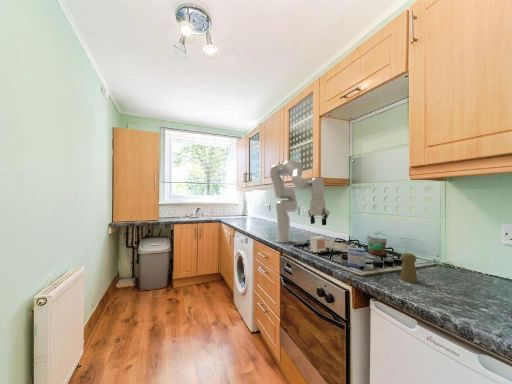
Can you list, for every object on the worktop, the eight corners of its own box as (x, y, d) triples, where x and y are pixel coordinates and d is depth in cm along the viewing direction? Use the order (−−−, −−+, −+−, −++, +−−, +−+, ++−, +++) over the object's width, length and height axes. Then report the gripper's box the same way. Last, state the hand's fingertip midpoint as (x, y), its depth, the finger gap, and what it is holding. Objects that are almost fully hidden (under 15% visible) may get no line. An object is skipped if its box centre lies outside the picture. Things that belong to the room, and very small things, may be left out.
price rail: (315, 244, 159) (315, 236, 159) (318, 244, 160) (318, 236, 161) (352, 254, 133) (352, 244, 133) (355, 253, 135) (355, 243, 135)
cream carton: (310, 251, 141) (310, 237, 141) (319, 249, 145) (319, 235, 145) (316, 253, 137) (316, 238, 137) (325, 251, 141) (325, 237, 141)
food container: (361, 252, 138) (361, 236, 138) (368, 251, 141) (368, 235, 141) (380, 257, 127) (379, 239, 127) (387, 256, 130) (387, 238, 130)
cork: (396, 278, 94) (396, 252, 94) (406, 276, 97) (405, 251, 97) (411, 284, 89) (411, 256, 89) (421, 281, 91) (420, 254, 91)
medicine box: (347, 266, 111) (347, 248, 111) (347, 263, 115) (347, 246, 115) (365, 268, 108) (365, 250, 108) (364, 265, 112) (364, 248, 112)
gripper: (303, 197, 147) (304, 223, 147) (323, 197, 132) (324, 226, 132) (312, 197, 151) (312, 222, 150) (332, 197, 136) (333, 225, 135)
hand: (318, 224), depth 141 cm, fingers open, 9 cm apart
